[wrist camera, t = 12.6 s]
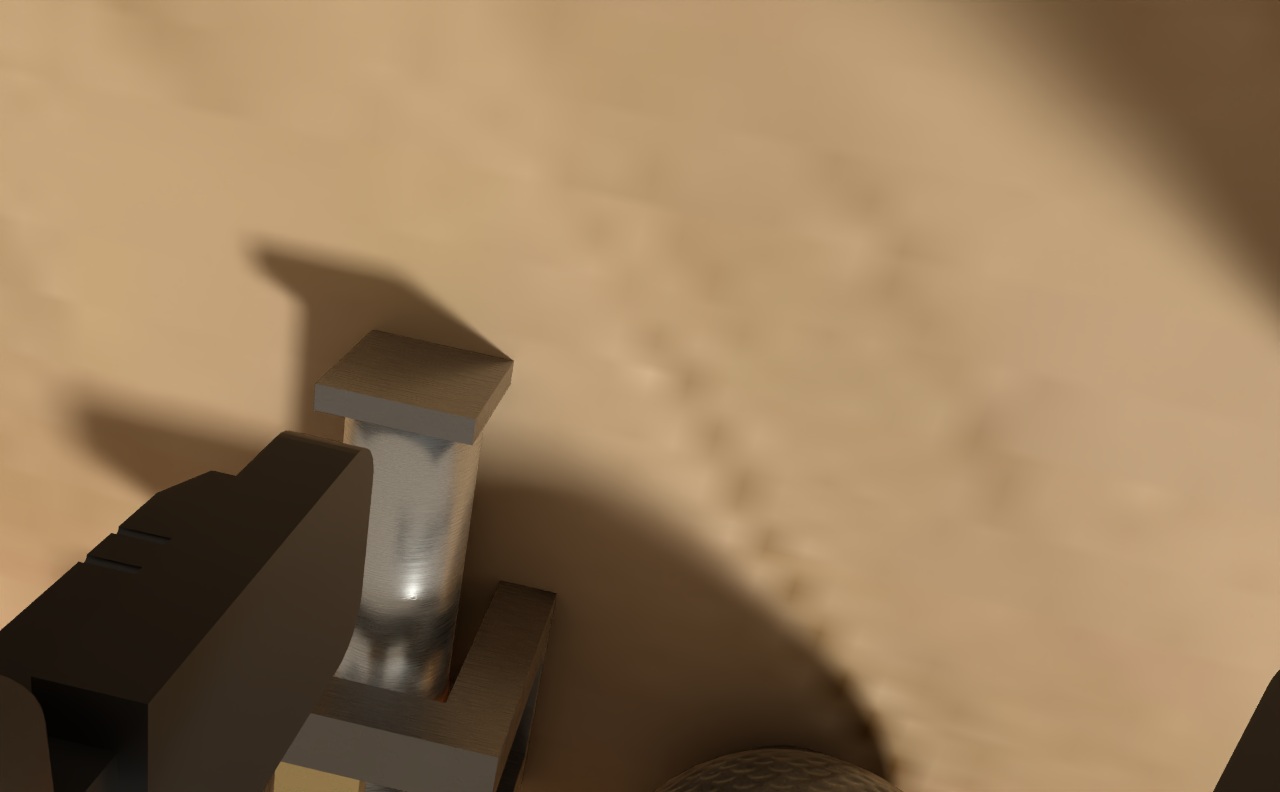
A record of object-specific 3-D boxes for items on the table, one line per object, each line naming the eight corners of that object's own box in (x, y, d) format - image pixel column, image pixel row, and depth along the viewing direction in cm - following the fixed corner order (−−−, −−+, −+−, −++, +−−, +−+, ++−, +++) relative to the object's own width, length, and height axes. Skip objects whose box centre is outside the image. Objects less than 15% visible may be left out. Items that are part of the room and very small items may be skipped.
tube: (514, 360, 42) (475, 419, 37) (449, 793, 51) (411, 889, 46) (372, 329, 42) (315, 383, 37) (333, 766, 51) (282, 858, 46)
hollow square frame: (556, 593, 46) (498, 757, 37) (521, 782, 50) (461, 972, 41) (275, 528, 46) (148, 674, 37) (263, 721, 50) (147, 894, 41)
